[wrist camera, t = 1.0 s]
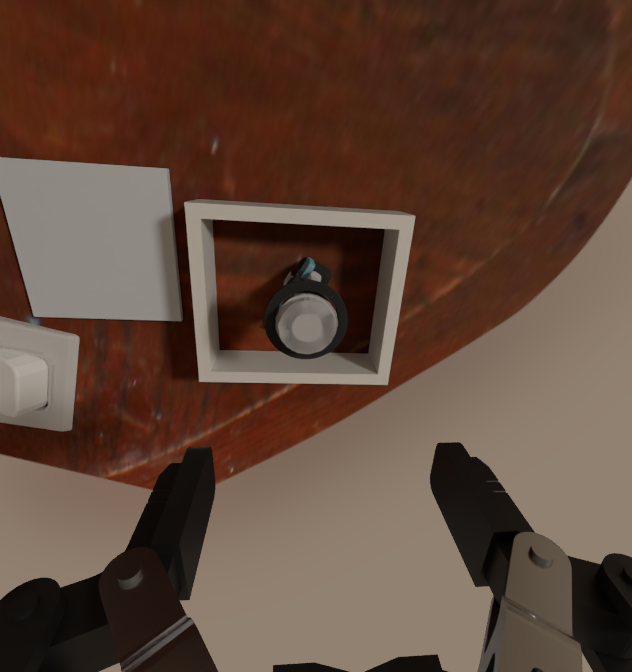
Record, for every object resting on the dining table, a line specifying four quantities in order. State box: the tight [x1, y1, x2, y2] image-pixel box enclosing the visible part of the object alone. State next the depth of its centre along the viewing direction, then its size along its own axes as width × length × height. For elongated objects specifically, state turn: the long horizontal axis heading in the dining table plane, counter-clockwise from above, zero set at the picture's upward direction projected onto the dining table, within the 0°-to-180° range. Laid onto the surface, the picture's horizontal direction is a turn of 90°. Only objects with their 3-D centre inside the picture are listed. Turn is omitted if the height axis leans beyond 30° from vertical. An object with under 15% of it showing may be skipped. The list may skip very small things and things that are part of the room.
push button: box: [264, 257, 348, 359], centre depth 26 cm, size 7×5×10 cm
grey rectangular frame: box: [184, 199, 415, 385], centre depth 29 cm, size 16×14×4 cm
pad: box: [0, 157, 183, 321], centre depth 28 cm, size 12×12×1 cm
